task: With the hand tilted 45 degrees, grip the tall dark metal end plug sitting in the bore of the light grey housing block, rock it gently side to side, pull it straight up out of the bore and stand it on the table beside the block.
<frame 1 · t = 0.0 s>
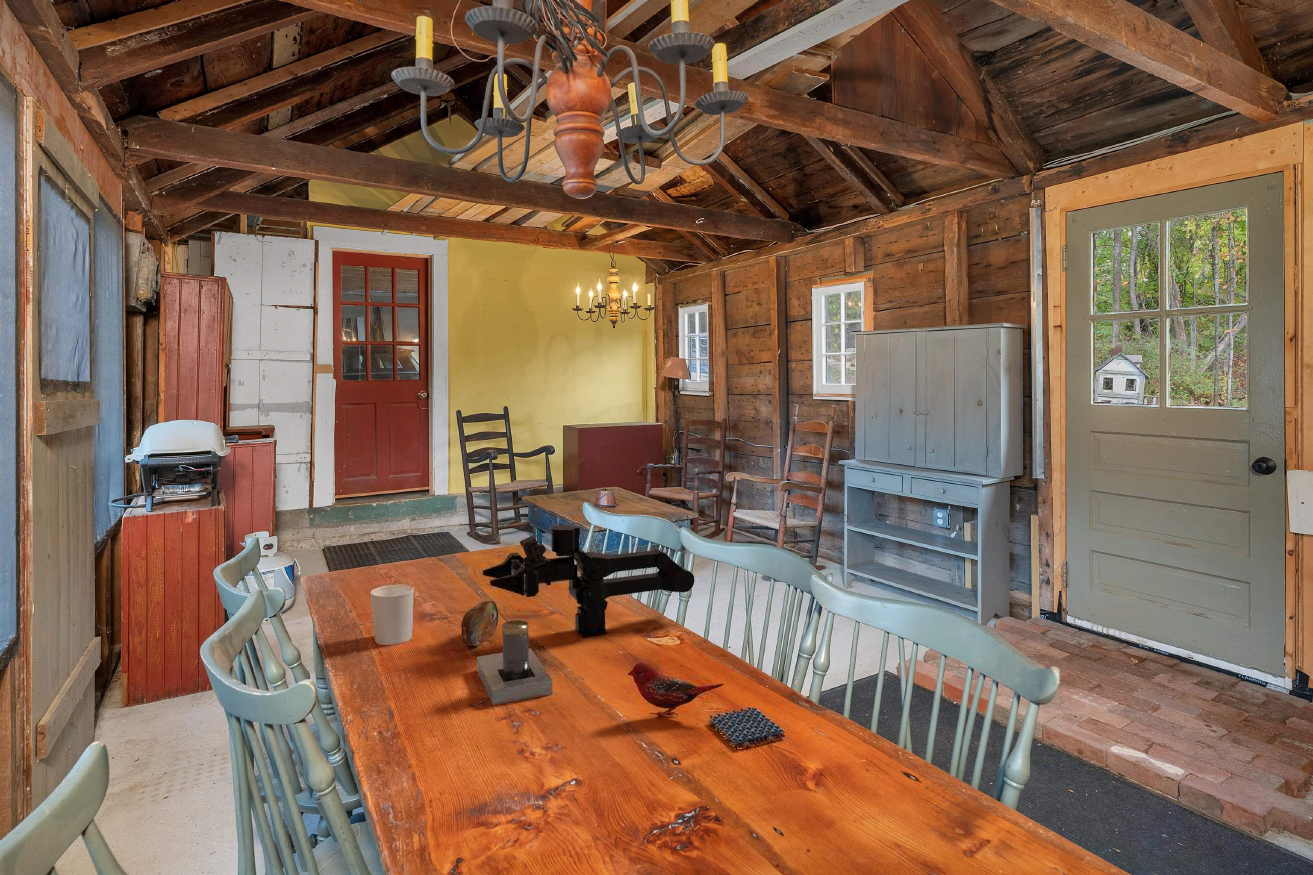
hand: (486, 577, 157), 17 cm above the table, tool horizontal, fingers open, 9 cm apart
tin: (480, 640, 163), on the table
end plug: (516, 687, 137), resting in housing block
decorative bird figurine: (675, 717, 125), on the table
white paper cup: (393, 639, 164), on the table
housing block: (513, 681, 140), on the table
woven mat: (746, 734, 119), on the table
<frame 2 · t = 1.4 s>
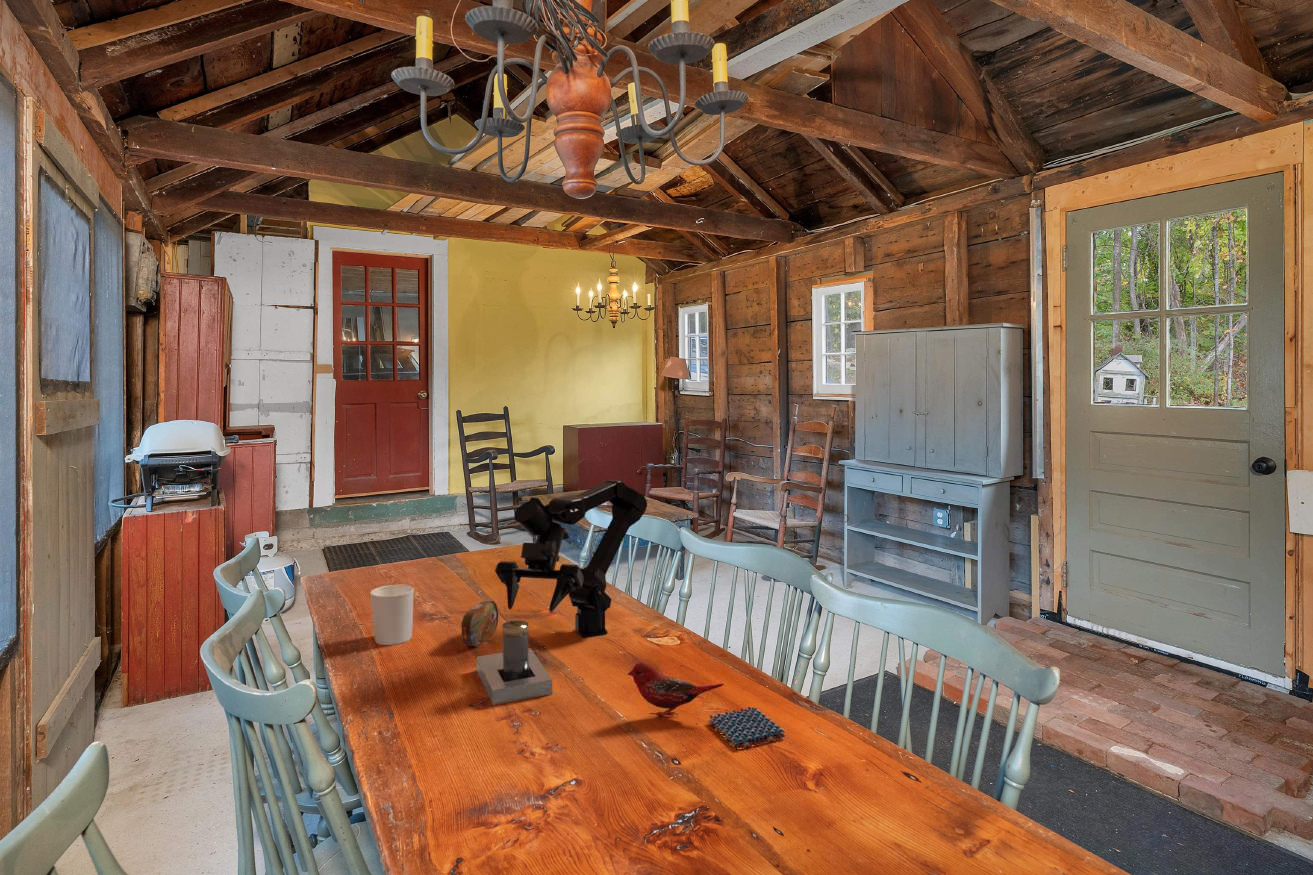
hand: (529, 609, 144), 13 cm above the table, tool tilted 45°, fingers open, 9 cm apart
nothing on the table moved.
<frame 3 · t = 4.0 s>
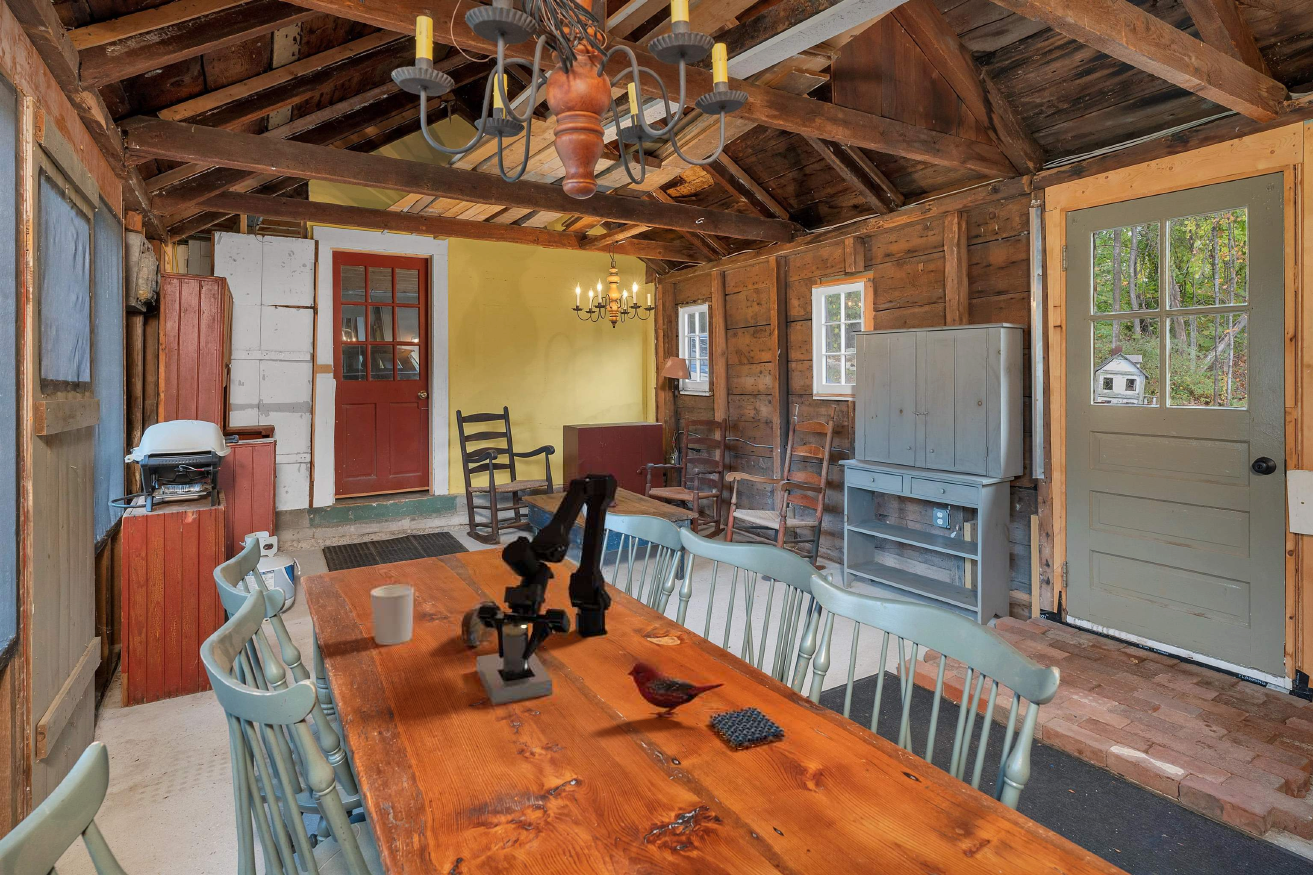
hand: (513, 658, 135), 7 cm above the table, tool tilted 45°, fingers closed on end plug, 5 cm apart
end plug: (516, 687, 137), resting in housing block, touching gripper
everything else where it was.
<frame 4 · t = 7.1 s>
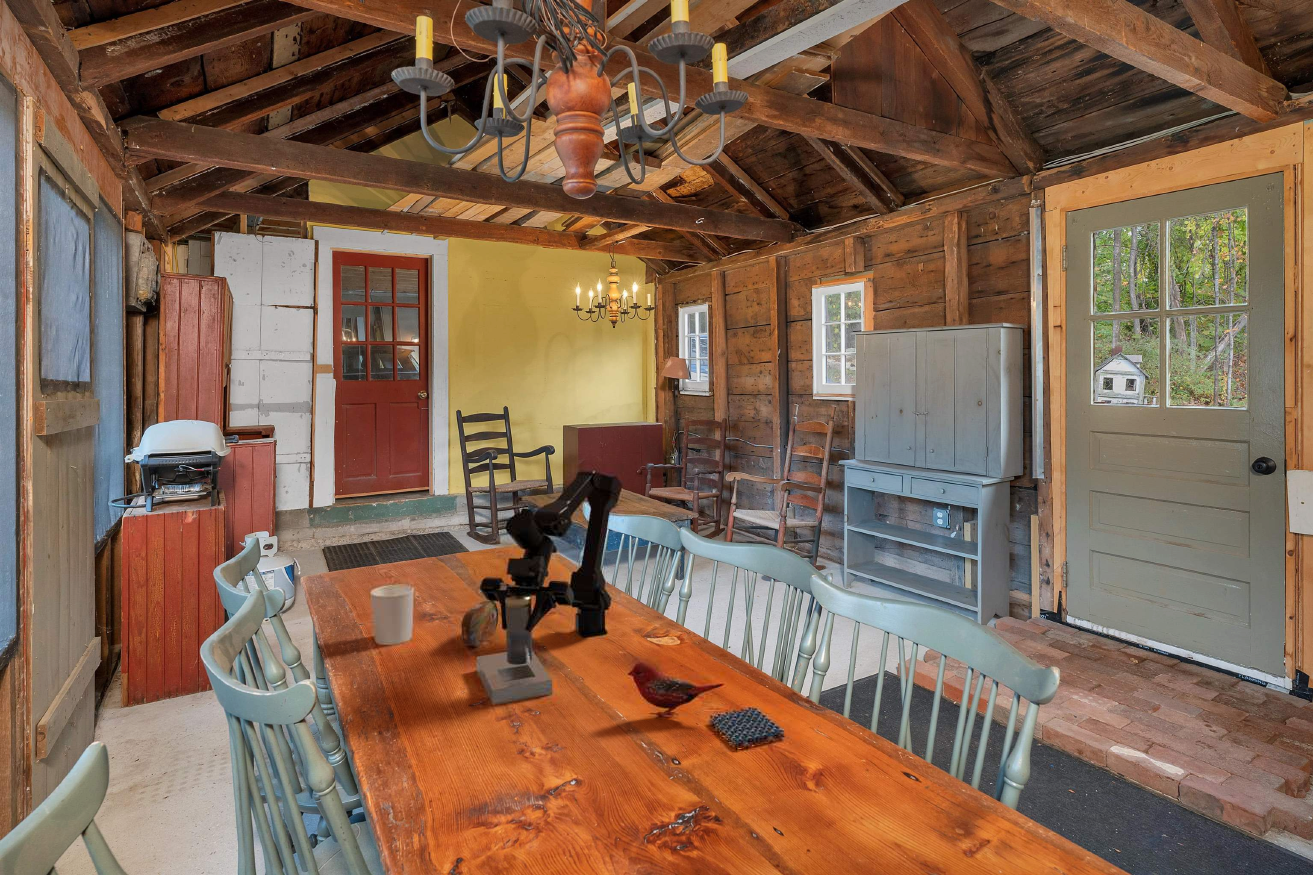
hand: (516, 629, 135), 12 cm above the table, tool tilted 45°, fingers closed on end plug, 5 cm apart
end plug: (519, 659, 136), point 6 cm above the table, touching gripper
everything else where it was.
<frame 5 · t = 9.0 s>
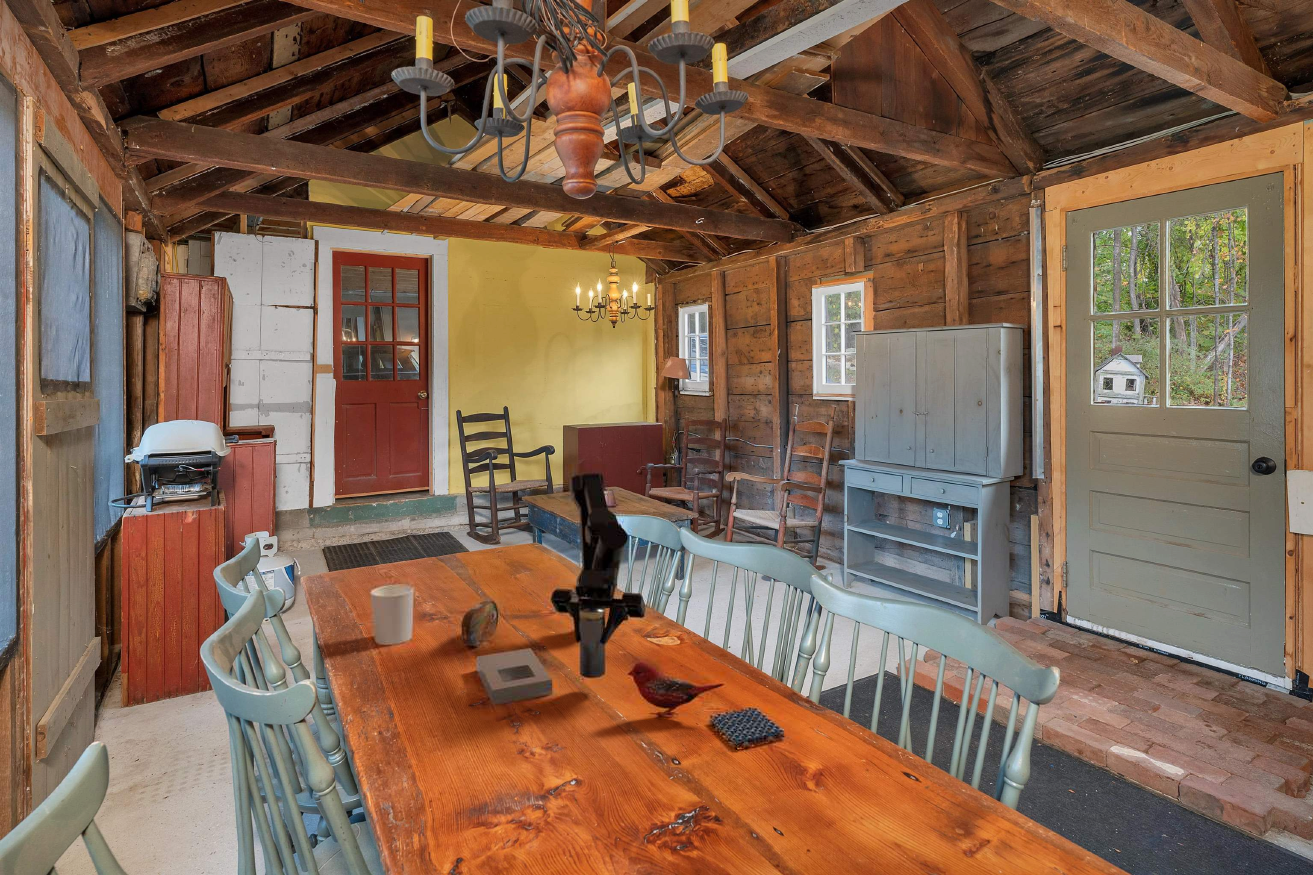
hand: (590, 642, 133), 10 cm above the table, tool tilted 45°, fingers closed on end plug, 5 cm apart
end plug: (592, 672, 135), point 4 cm above the table, touching gripper
everything else where it was.
when the fingers open (7 cm above the table, at t = 10.4 s): end plug stays where it is, on the table.
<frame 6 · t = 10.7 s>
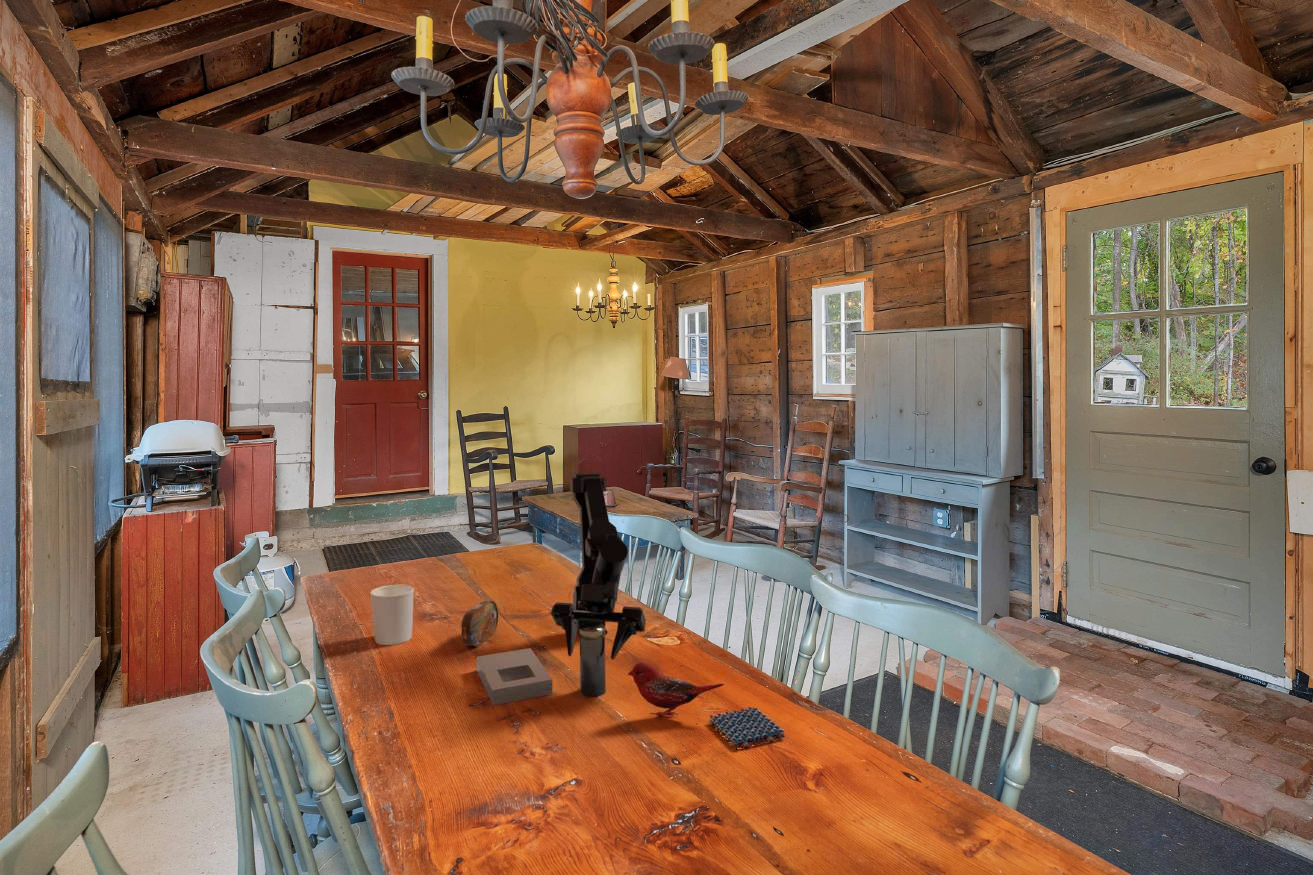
hand: (590, 656, 133), 8 cm above the table, tool tilted 45°, fingers open, 8 cm apart
end plug: (593, 691, 135), on the table
everything else where it was.
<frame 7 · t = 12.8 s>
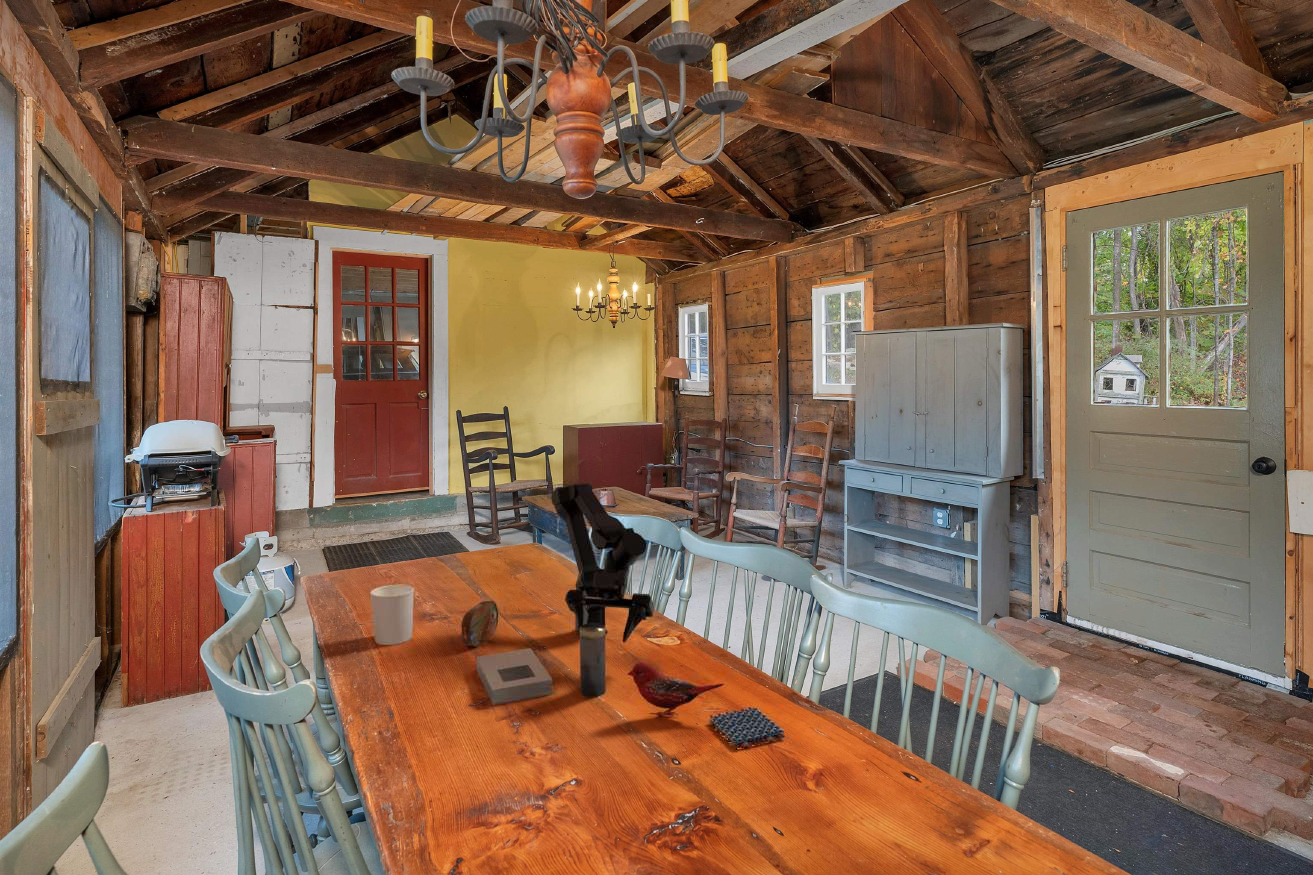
hand: (602, 640, 142), 7 cm above the table, tool tilted 45°, fingers open, 9 cm apart
nothing on the table moved.
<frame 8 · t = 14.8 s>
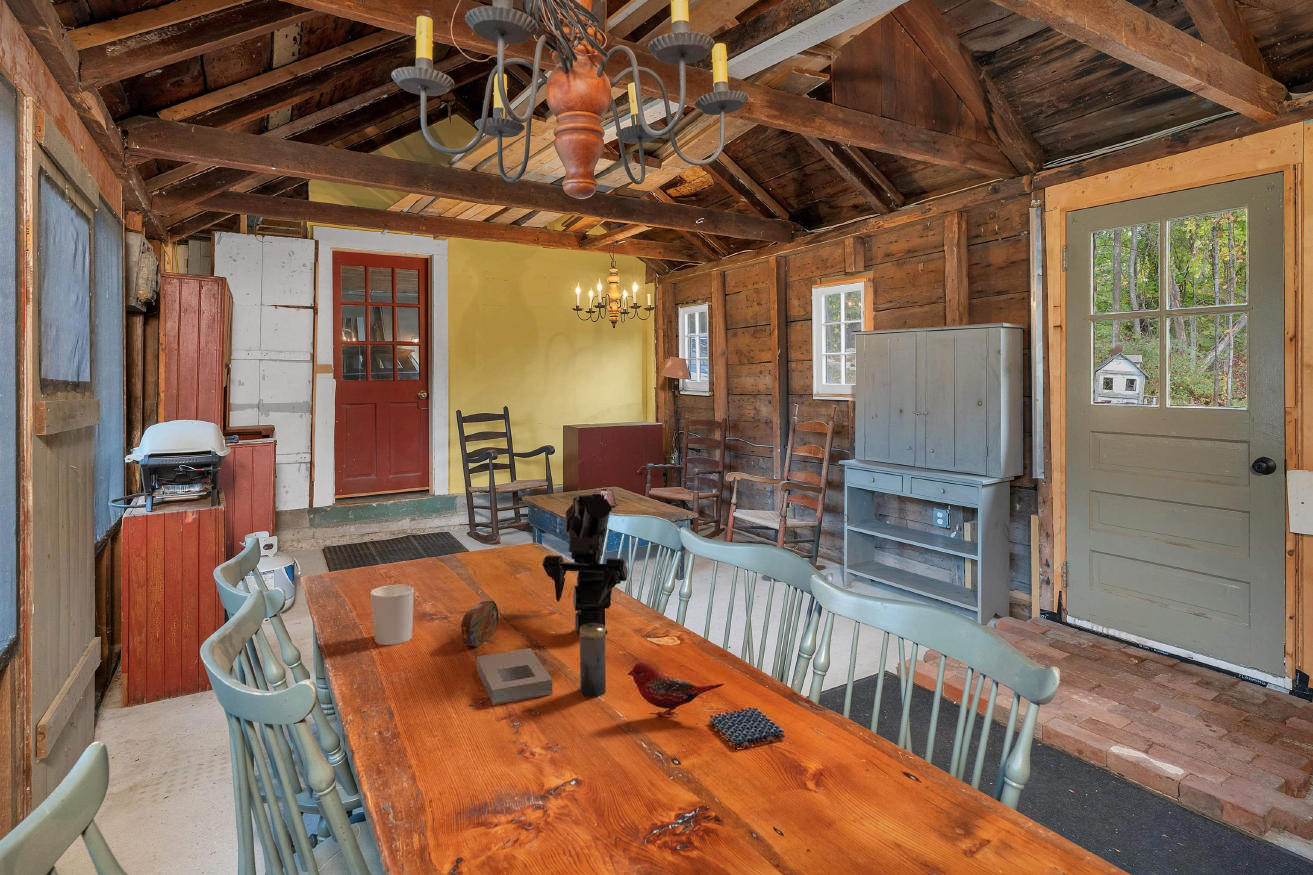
hand: (577, 602, 148), 14 cm above the table, tool tilted 45°, fingers open, 9 cm apart
nothing on the table moved.
at the end: end plug inside the target area (0.0 cm from its centre), on the table; end plug tilted 0°; the gripper is holding nothing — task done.
